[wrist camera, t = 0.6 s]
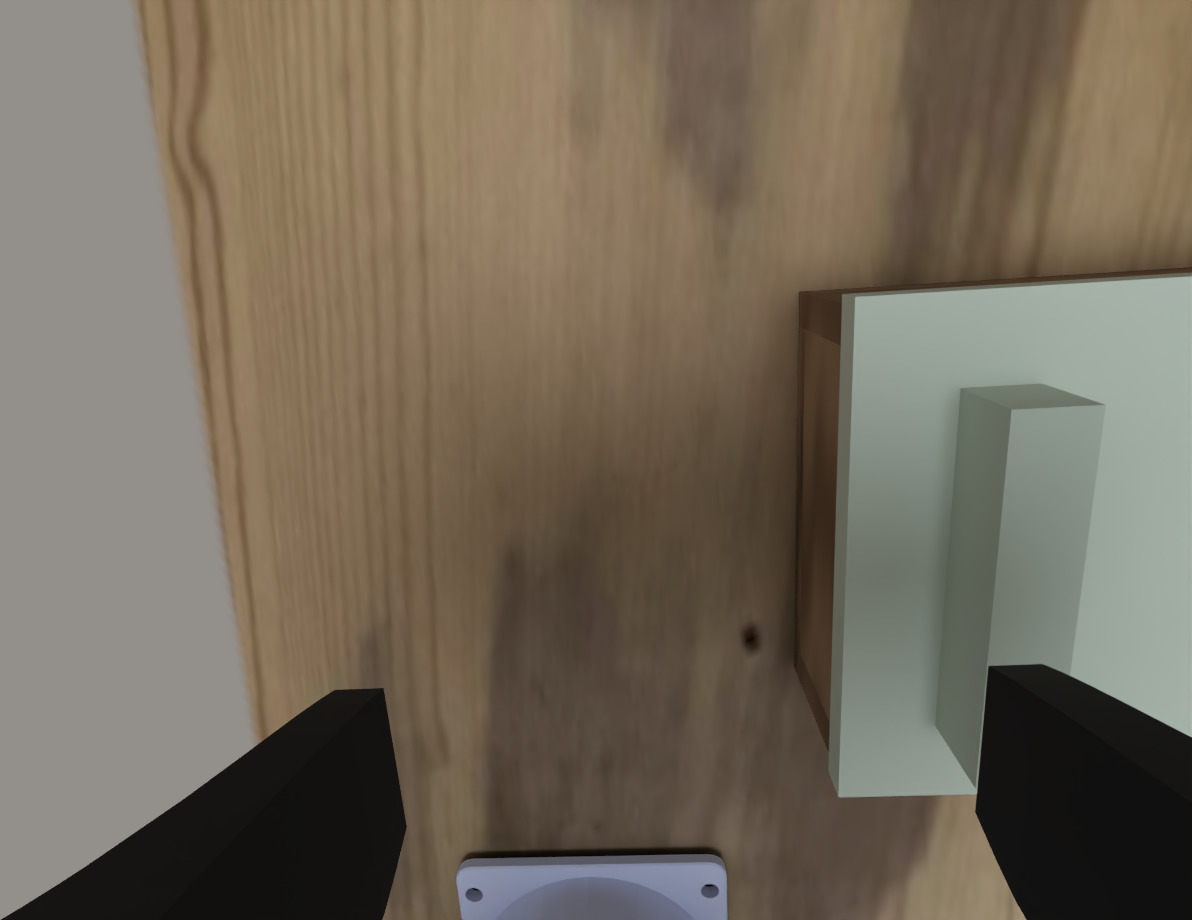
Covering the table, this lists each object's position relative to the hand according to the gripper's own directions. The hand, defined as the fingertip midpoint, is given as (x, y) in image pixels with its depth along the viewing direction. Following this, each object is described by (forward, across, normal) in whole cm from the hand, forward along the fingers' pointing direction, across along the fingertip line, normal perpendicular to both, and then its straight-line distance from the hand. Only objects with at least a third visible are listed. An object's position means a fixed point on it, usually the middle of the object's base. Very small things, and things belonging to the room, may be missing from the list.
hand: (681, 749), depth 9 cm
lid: (+6, -10, 0) cm, 12 cm away
